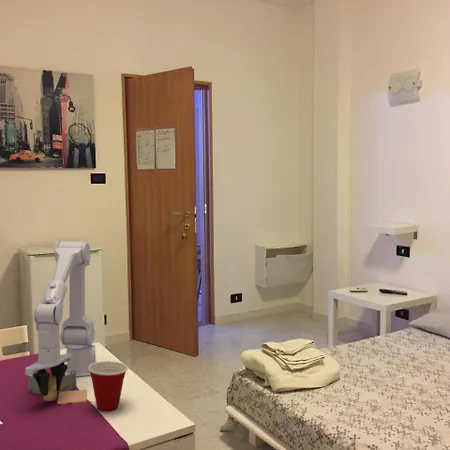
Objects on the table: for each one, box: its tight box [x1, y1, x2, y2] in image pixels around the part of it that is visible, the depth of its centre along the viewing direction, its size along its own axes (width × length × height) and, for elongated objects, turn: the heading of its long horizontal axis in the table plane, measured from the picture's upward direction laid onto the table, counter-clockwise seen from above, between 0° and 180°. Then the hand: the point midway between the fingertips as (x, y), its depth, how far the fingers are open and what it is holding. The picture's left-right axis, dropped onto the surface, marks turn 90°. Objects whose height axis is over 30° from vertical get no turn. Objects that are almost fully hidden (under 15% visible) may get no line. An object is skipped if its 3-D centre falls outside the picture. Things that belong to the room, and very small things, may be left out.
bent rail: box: [28, 371, 77, 395], centre depth 156 cm, size 14×6×5 cm, turn 104°
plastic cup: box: [88, 360, 129, 413], centre depth 146 cm, size 11×11×12 cm
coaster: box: [57, 389, 88, 405], centre depth 153 cm, size 8×8×1 cm
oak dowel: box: [42, 374, 58, 402], centre depth 148 cm, size 4×4×6 cm
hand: (50, 392), depth 148 cm, fingers closed on oak dowel, 4 cm apart
